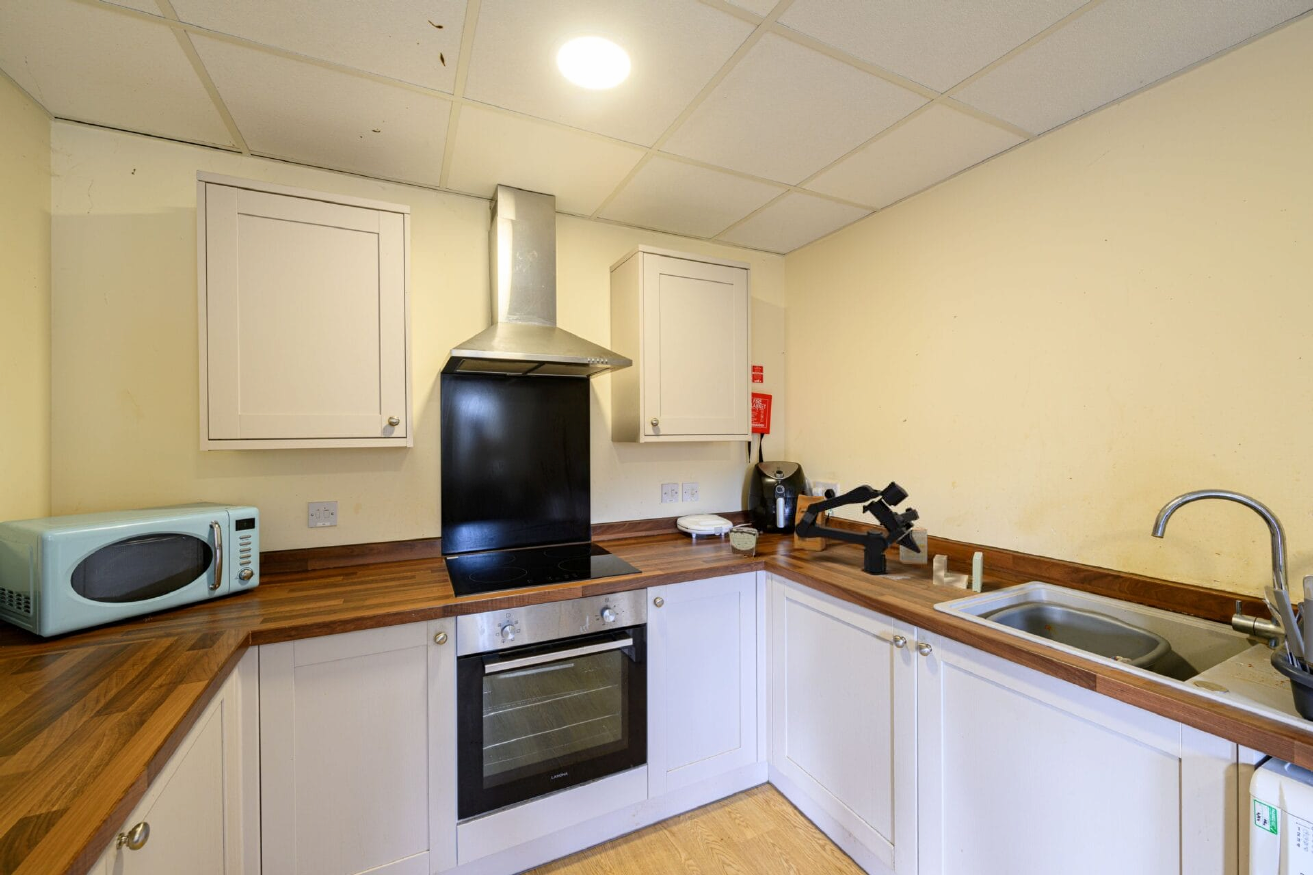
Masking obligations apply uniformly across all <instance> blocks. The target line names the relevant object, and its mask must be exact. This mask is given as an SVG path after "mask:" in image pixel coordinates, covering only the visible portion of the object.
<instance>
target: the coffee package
mask: <svg viewBox="0 0 1313 875" xmlns="http://www.w3.org/2000/svg"><path fill="white" fill-rule="evenodd" d="M824 500H825V495H823V496H822V495H820V496H819V495H818V496H817V495H816V496H814V495H813V496H809V495H804V494H798V499H797V505H796V513H795V522H794V525H795V526H796V524H798V523H799V522H800V520H801V518H802V517H803V515H804V514H805V512H806V510H807V508H808V506H809V505H810V504H812V503H817V502H820V501H824ZM816 523H818V524H820V525H822V526H825V527H826V511H823V512H820V513H819V515H818V518H817V521H816ZM795 526H794V527H795ZM793 543H794V544H793V546H794V547H793V548H794V549H795V548H796V549H797V550H798V549H799V550H800V549H801V550H805V551H808V550H809V551H811V552H821V551H822V550H824V549H825V548H826V538H820V537H819V538H800V537H798V536H797V534H796V533H795V531H794V533H793ZM796 549H795V550H796ZM809 551H808V552H809Z"/></svg>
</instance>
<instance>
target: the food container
mask: <svg viewBox="0 0 1313 875" xmlns="http://www.w3.org/2000/svg"><path fill="white" fill-rule="evenodd" d="M727 534H728V535H729V545H730V554H731V553H732V554H731V555H733V554H743V555H753V556H754V555H755V556H756V549H757V548H756V547H757V539H758V538H759V532H758V530H757V529H756V528H752V527H741V526H740V527H739V526H738V527H729V529H728V532H727Z"/></svg>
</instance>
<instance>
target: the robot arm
mask: <svg viewBox="0 0 1313 875" xmlns="http://www.w3.org/2000/svg"><path fill="white" fill-rule="evenodd" d="M879 497H880V498H879ZM908 497H909V493H908V491H906V490H905V489H904V488H903V487H902V486H900V485H899V484H898V483H896V481H891V482H890V483H889V484H888V485H887V486H886V487H885V488H884V489H883V490H881V489H875V488H873V487H872V486H871V485H868V484H863V485H860V486H858V487H856V488H853V489H851V490H850V491H847V492H846V493H843V494H841V495H840V494H839V495H836V496H834V497H831V498H827V499H824V501H820V502H817V503H812V504H810V505H809V506H808V508H807V510H806V512H805V514H804V515H803V517H802V518H801V520H800V522H799V523H798V524H796V526H794V532H795V533H796V534H797V536H798V537H800V538H819V537H820V538H825V540H826V539H827V540H831V541H832V540H833V541H838V542H844V543H848V544H849V543H850V544H854V545H859V546H862V547H863V549H862V550H863V568H861V569H860V571H862V572H866V573H867V574H870V575H875V576H877V575H887V574H889V571H887V558H886V554H884V553H885V552H886V551H888V549H890V547H891V546H892V545H893V544H894V543H895V544H896V545H899V546H900V545H901V546H904V547H906V548H908V549H910V550H912V551H914V552H916V553H918V554H919V553H920V552H921V550H920V548H919V546H918V545H917V543H916V541H915V540H914V538H913V529H912V530H910V531H908V530H909V529H911V528H912V527H915V524H914V522H915V521H918V520H919V519H920V515H919V514H918V511H917V509H916V508H914V509H913V508H912V507H910V506H909V507H907V508H905V511H904V512H902V513H900V514H899V513H898V512H897V511H893V509H892V508H890V507H894V508H895V507H897V506H898V505H899V504H901V503H902V502H903V501H904V500H905V499H907V498H908ZM877 498H879V499H878V500H874V499H877ZM869 501H870V502H869ZM868 502H869V503H868ZM863 503H864V504H863ZM865 503H867V505H866V504H865ZM854 504H855V505H856V504H863V505H862V512H861V513H862V514H866V513H867V512H869V513H870V514H871V515H872V516H873V517H874V518H875V519H876V520H877V521H878V523H879V526H881V527H883V528H884V529H885V530H886V531H887V532H888V533H886V532H884V530H876V529H874V528H870V529H868V530H867V531H866V532H859V531H853V530H849V529H848V530H847V529H841V528H836V527H831V526H830V527H829V526H826V525H825V526H822V525H820V524H818V523H816V521H817V518H818V515H819V513H820V512H823V511H825V512H826V511H829V510H832V509H835V508H839V507H842V506H846V505H854ZM913 521H914V522H913Z"/></svg>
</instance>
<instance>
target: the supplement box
mask: <svg viewBox="0 0 1313 875" xmlns="http://www.w3.org/2000/svg"><path fill="white" fill-rule="evenodd" d="M912 529H913V538H914V540H915V541H916V543H917V545H918V546H919V548H920V550H921V552H920V553H919V554H918V553H916V552H914V551H912V550H910V549H908V548H906V547H904V546H901V545H899V562H900V563H902V564H903V565H922V566H923V565H925V566H927V565H928V529H927V528H926V527H922V526H913V527H912V528H911V529H909V530H908V531H910V530H912Z"/></svg>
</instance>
